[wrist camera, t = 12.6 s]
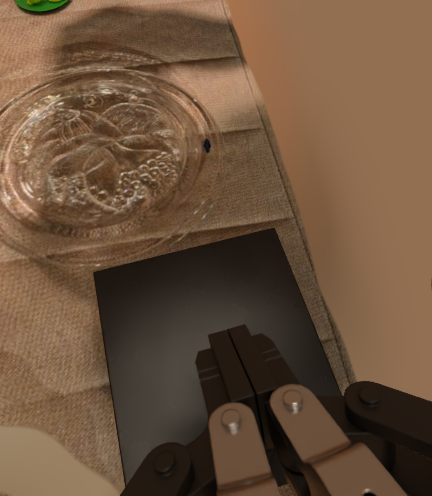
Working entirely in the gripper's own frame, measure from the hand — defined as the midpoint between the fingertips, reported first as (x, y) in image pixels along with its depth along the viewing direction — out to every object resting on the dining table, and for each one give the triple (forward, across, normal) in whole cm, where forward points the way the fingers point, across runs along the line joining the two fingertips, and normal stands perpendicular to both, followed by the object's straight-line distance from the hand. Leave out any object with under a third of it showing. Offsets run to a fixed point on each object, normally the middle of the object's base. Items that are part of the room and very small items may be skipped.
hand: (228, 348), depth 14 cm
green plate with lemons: (+53, +10, -28) cm, 60 cm away
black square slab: (+7, 0, +5) cm, 9 cm away
